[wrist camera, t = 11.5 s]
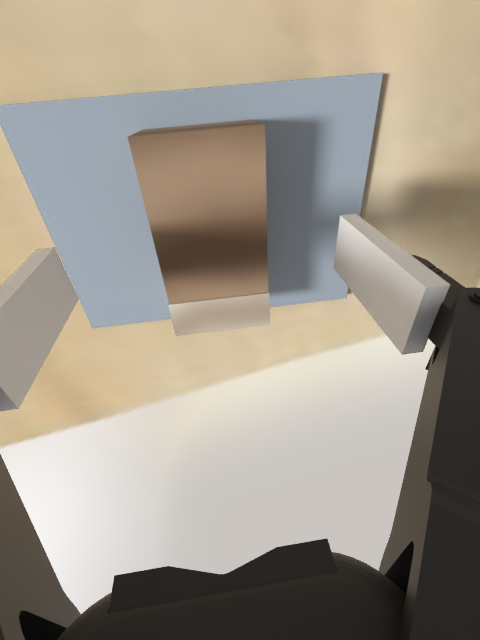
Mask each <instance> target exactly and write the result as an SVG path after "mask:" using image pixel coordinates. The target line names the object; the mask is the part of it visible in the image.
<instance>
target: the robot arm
mask: <svg viewBox="0 0 480 640" xmlns="http://www.w3.org/2000/svg"><path fill="white" fill-rule="evenodd" d="M333 268H334V269H335V271H336V272H337V273H338V275H339V276H340V277H341V278H342V280H343V281H344V282H345V283H346V285H347V286H348V287H349V288H350V290H351V291H352V292H353V293H354V295H355V296H356V297H357V298H358V300H359V301H360V302H361V303H362V305H363V306H364V307H365V308H366V310H367V311H368V312H369V314H370V315H371V316H372V317H373V319H374V320H375V321H376V322H377V324H378V325H379V326H380V327H381V329H382V330H383V331H384V332H385V334H386V335H387V336H388V337H389V339H390V340H391V341H392V342H393V344H394V345H395V346H396V348H397V349H398V350H399V351H400V353H401V354H402V355H403V354H409V353H416V352H423V350H424V348H425V345H426V343H427V340H428V338H429V339H430V340H431V341H432V342H433V343H434V344H435V345H436V346H435V349H434V351H433V353H432V355H431V357H430V360H429V362H428V364H427V367H426V369H427V370H428V375H427V378H426V383H425V387H424V392H423V396H422V400H421V405H420V409H419V414H418V418H417V422H416V427H415V431H414V435H413V440H412V444H411V448H410V453H409V457H408V461H407V466H406V470H405V475H404V479H403V483H402V488H401V492H400V497H399V501H398V506H397V510H396V514H395V518H394V523H393V527H392V532H391V535H390V538H389V541H388V543H387V546H386V549H385V552H384V554H383V558H382V561H381V565H380V568H379V571H377V570H376V569H374V568H372V567H371V566H369V565H367V564H366V563H364V562H361V561H359V560H357V559H355V558H352V557H349V556H346V555H343V554H340V553H334V552H331V549H330V546H329V543H328V540H327V539H322V540H316V541H310V542H305V543H299V544H294V545H287V546H282V547H276V548H275V549H273V550H271V551H269V552H267V553H265V554H263V555H262V556H260V557H258V558H256V559H254V560H252V561H250V562H248V563H246V564H245V565H243V566H241V567H239V568H237V569H235V570H233V571H231V572H229V573H227V574H213V573H207V572H200V571H195V570H188V569H182V568H176V567H170V566H167V567H161V568H156V569H150V570H144V571H139V572H133V573H127V574H121V575H116V576H114V582H113V588H112V593H110V594H108V595H107V596H105V597H104V598H102V599H101V600H99V601H98V602H96V603H95V604H93V605H92V606H91V607H89V608H88V609H87V610H86V611H85V612H84V613H82V614H80V613H79V611H78V610H77V608H76V607H75V606H74V604H73V603H72V602H71V601H70V600H69V598H68V597H67V596H66V594H65V593H64V591H63V590H62V587H61V585H60V583H59V581H58V579H57V577H56V574H55V572H54V570H53V568H52V566H51V563H50V561H49V559H48V557H47V555H46V553H45V550H44V548H43V546H42V544H41V542H40V539H39V537H38V535H37V533H36V531H35V529H34V526H33V524H32V523H31V520H30V518H29V516H28V513H27V511H26V509H25V507H24V505H23V503H22V500H21V498H20V496H19V494H18V492H17V490H16V487H15V485H14V483H13V481H12V479H11V476H10V474H9V472H8V470H7V468H6V465H5V463H4V461H3V459H2V457H1V455H0V640H480V288H465V287H463V286H462V285H461V284H459V283H458V282H456V281H455V280H454V279H452V278H451V277H450V276H448V275H447V274H445V273H443V271H441V270H440V269H438V268H436V266H434V265H433V264H432V263H430V262H429V261H427V260H425V259H423V258H420V257H418V256H415V255H410V254H409V253H408V252H406V251H405V250H404V249H402V248H401V247H400V246H398V245H397V244H396V243H394V242H393V241H392V240H390V239H389V238H388V237H386V236H385V235H384V234H382V233H381V232H380V231H378V230H377V229H376V228H374V227H373V226H372V225H370V224H369V223H368V222H366V221H365V220H364V219H362V218H361V217H360V216H358V215H357V214H348V215H340V220H339V228H338V235H337V243H336V250H335V258H334V265H333ZM77 301H78V297H77V294H76V292H75V290H74V288H73V286H72V284H71V282H70V279H69V277H68V275H67V273H66V271H65V269H64V267H63V265H62V262H61V260H60V258H59V256H58V254H57V252H56V250H55V247H53V248H44V249H37V250H36V251H35V252H34V253H33V254H32V255H31V256H30V257H29V258H28V259H27V260H26V261H25V262H24V263H23V264H22V265H21V266H20V267H19V268H18V269H17V270H16V271H15V272H14V273H13V274H12V275H11V276H10V277H9V278H8V279H7V280H6V281H5V282H4V283H3V284H2V285H1V286H0V411H5V410H12V409H18V408H19V407H20V405H21V403H22V401H23V399H24V397H25V396H26V394H27V392H28V390H29V388H30V387H31V385H32V383H33V381H34V379H35V377H36V376H37V374H38V372H39V370H40V368H41V366H42V365H43V363H44V361H45V359H46V357H47V356H48V354H49V352H50V350H51V348H52V346H53V345H54V343H55V341H56V339H57V337H58V336H59V334H60V332H61V330H62V328H63V326H64V325H65V323H66V321H67V319H68V317H69V315H70V314H71V312H72V310H73V308H74V306H75V305H76V303H77Z"/></svg>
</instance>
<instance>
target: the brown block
mask: <svg viewBox="0 0 480 640" xmlns="http://www.w3.org/2000/svg"><path fill="white" fill-rule="evenodd" d="M128 141H129V145H130V149H131V153H132V157H133V161H134V165H135V169H136V173H137V177H138V181H139V185H140V189H141V193H142V197H143V201H144V205H145V209H146V213H147V217H148V221H149V225H150V229H151V233H152V237H153V241H154V245H155V249H156V253H157V257H158V261H159V265H160V269H161V273H162V277H163V281H164V285H165V289H166V293H167V297H168V301H169V303H168V306H169V310H170V314H171V318H172V322H173V326H174V330H175V334H176V336H181V335H189V334H197V333H205V332H213V331H222V330H230V329H238V328H246V327H255V326H263V325H270V299H269V291H268V248H267V193H266V138H265V124H263V123H260V122H258V121H255V120H242V121H232V122H221V123H210V124H199V125H188V126H177V127H166V128H155V129H144V130H140V131H138V132H136V133H134V134H132V135H130V136H128Z"/></svg>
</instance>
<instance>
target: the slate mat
mask: <svg viewBox="0 0 480 640" xmlns="http://www.w3.org/2000/svg"><path fill="white" fill-rule="evenodd" d="M382 77H383V73H372V74H360V75H348V76H337V77H325V78H313V79H302V80H290V81H278V82H266V83H255V84H243V85H231V86H220V87H208V88H196V89H184V90H173V91H161V92H149V93H138V94H126V95H114V96H102V97H91V98H79V99H67V100H55V101H44V102H32V103H20V104H9V105H0V126H1V128H2V130H3V132H4V134H5V137H6V139H7V141H8V143H9V145H10V148H11V150H12V152H13V154H14V156H15V159H16V161H17V163H18V165H19V167H20V170H21V172H22V174H23V176H24V178H25V181H26V183H27V185H28V187H29V189H30V192H31V194H32V196H33V198H34V200H35V203H36V205H37V207H38V209H39V211H40V214H41V216H42V218H43V220H44V223H45V225H46V227H47V229H48V231H49V234H50V236H51V238H52V240H53V242H54V245H55V247H56V249H57V251H58V253H59V256H60V258H61V260H62V262H63V264H64V267H65V269H66V271H67V273H68V275H69V278H70V280H71V282H72V284H73V286H74V289H75V291H76V293H77V295H78V297H79V300H80V302H81V304H82V306H83V308H84V311H85V313H86V315H87V317H88V319H89V322H90V324H91V326H92V328H99V327H107V326H115V325H124V324H132V323H141V322H149V321H158V320H166V319H172V318H171V314H170V310H169V306H168V303H169V301H168V297H167V293H166V289H165V285H164V281H163V277H162V273H161V269H160V265H159V261H158V257H157V253H156V249H155V245H154V241H153V237H152V233H151V229H150V225H149V221H148V217H147V213H146V209H145V205H144V201H143V197H142V193H141V189H140V185H139V181H138V177H137V173H136V169H135V165H134V161H133V157H132V153H131V149H130V145H129V141H128V136H130V135H132V134H134V133H136V132H138V131H140V130H144V129H155V128H166V127H177V126H188V125H199V124H210V123H221V122H232V121H242V120H255V121H258V122H260V123H263V124H265V138H266V193H267V248H268V291H269V299H270V307H276V306H284V305H293V304H301V303H310V302H318V301H327V300H335V299H343V298H347V292H348V286H347V285H346V283H345V282H344V281H343V280H342V278H341V277H340V276H339V275H338V273H337V272H336V271H335V269H334V268H333V265H334V258H335V250H336V243H337V235H338V228H339V220H340V215H348V214H357V215H358V216H360V212H361V206H362V200H363V194H364V188H365V182H366V175H367V169H368V163H369V157H370V151H371V145H372V139H373V132H374V126H375V120H376V114H377V108H378V102H379V95H380V89H381V83H382Z"/></svg>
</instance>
